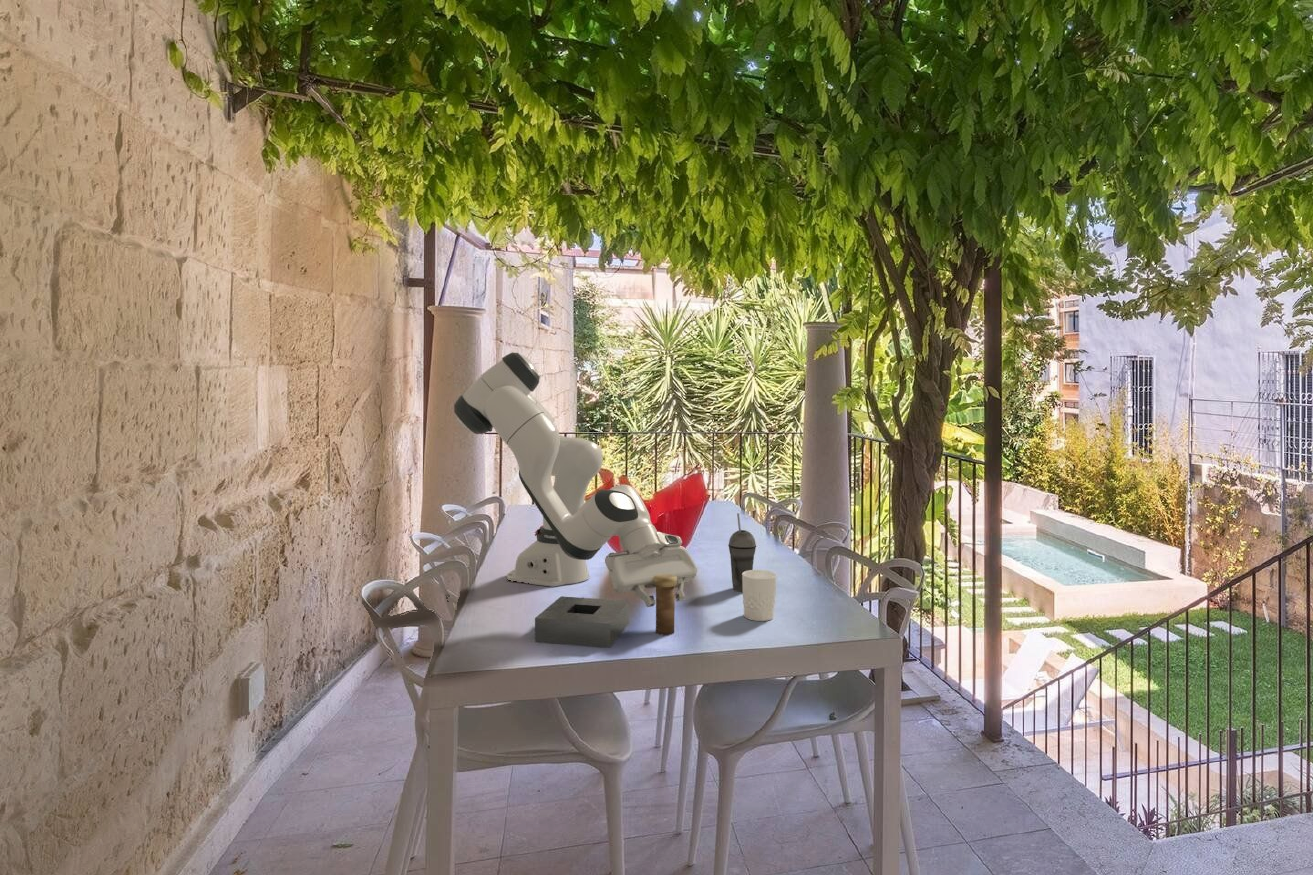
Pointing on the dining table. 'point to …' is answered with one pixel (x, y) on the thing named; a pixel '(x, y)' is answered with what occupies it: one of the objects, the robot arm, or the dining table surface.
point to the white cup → (759, 594)
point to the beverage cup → (741, 555)
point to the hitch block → (582, 622)
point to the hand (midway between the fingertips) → (666, 602)
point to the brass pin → (665, 603)
